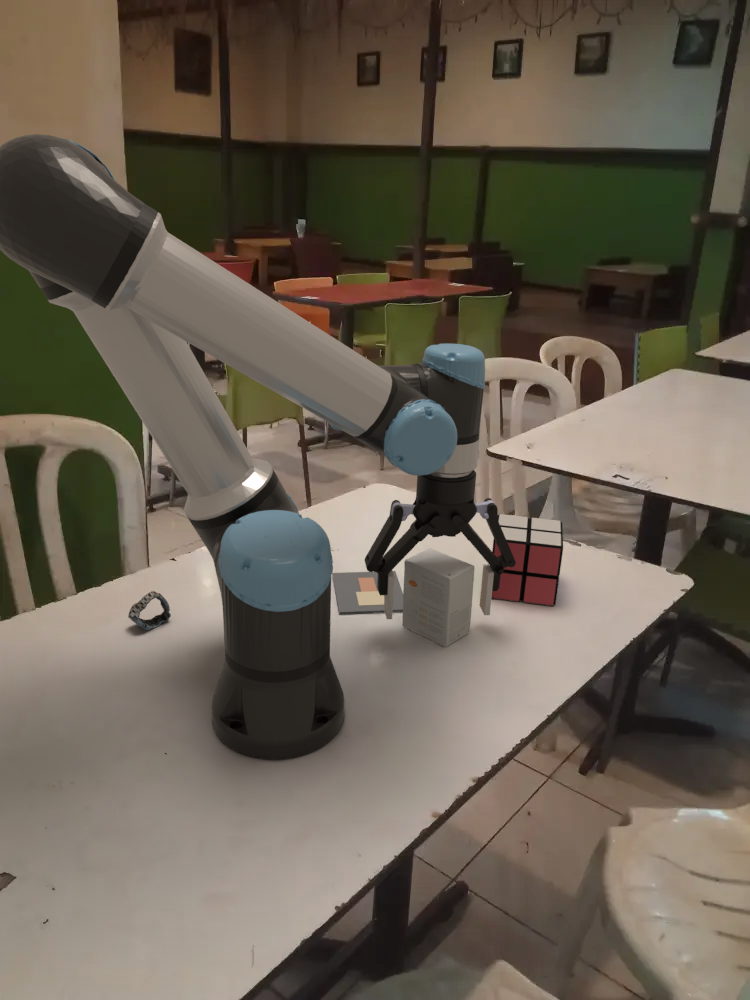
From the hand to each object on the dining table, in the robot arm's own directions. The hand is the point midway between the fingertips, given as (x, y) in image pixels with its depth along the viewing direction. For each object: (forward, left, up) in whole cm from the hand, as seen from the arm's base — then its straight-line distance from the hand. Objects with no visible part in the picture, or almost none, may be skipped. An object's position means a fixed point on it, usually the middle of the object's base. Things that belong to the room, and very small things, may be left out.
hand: (436, 612), depth 108 cm
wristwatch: (-39, +4, -3) cm, 39 cm away
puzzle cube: (+16, +11, -3) cm, 20 cm away
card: (-8, +11, -3) cm, 14 cm away
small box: (0, 0, -3) cm, 3 cm away
